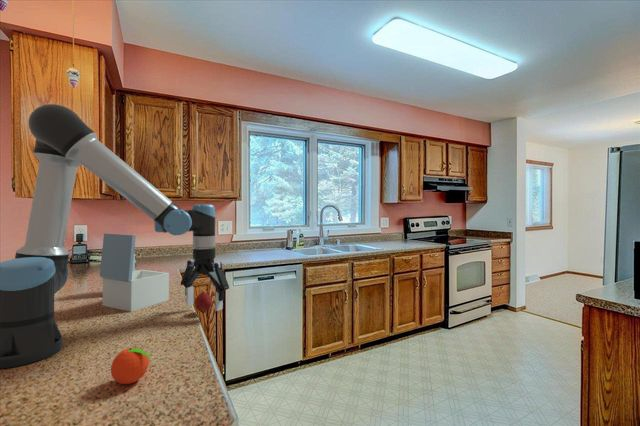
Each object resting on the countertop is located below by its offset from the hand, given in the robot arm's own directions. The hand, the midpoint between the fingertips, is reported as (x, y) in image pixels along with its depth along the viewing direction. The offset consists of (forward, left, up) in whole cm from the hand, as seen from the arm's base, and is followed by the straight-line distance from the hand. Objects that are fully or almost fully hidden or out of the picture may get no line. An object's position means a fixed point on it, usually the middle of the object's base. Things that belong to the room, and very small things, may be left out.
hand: (204, 307), depth 113 cm
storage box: (-2, +32, -2) cm, 32 cm away
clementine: (-41, -20, -2) cm, 46 cm away
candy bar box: (+5, +52, -2) cm, 52 cm away
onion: (0, 0, -2) cm, 2 cm away
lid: (-10, +32, +17) cm, 38 cm away
